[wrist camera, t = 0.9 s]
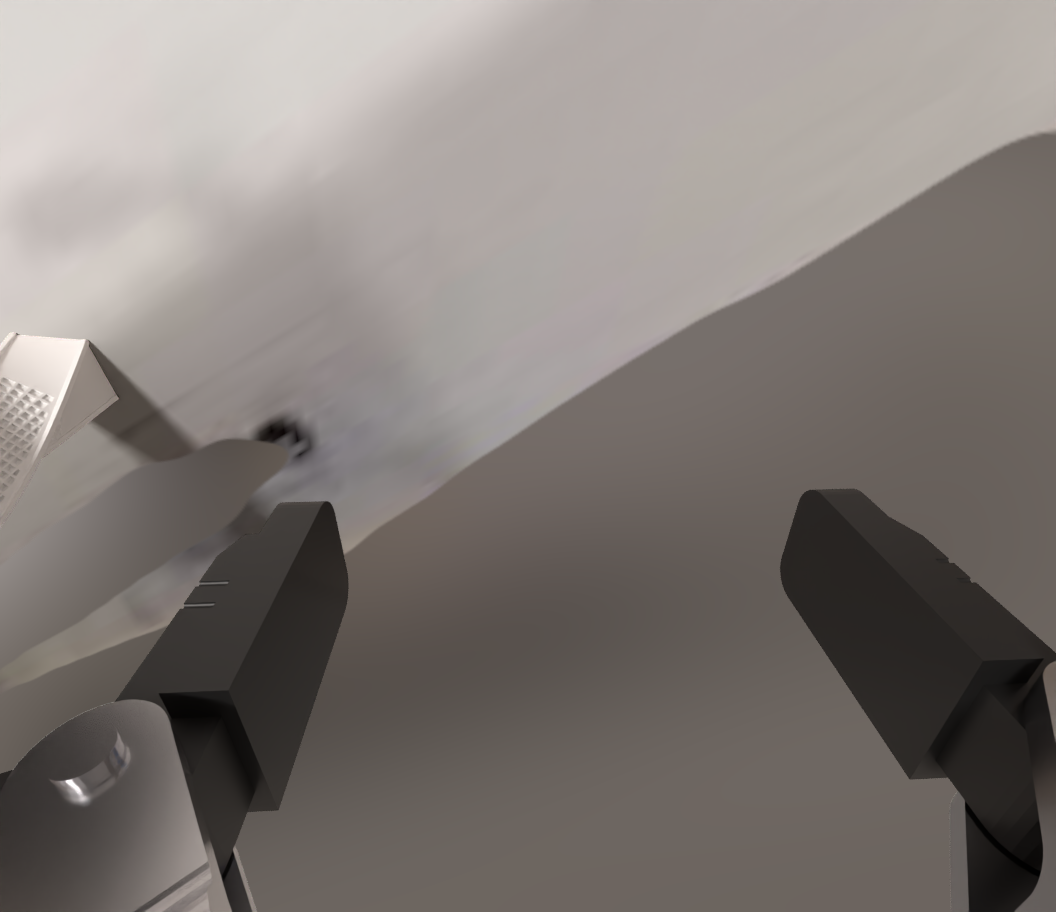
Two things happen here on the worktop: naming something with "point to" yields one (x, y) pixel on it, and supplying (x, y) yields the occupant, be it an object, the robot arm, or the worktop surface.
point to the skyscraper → (43, 404)
